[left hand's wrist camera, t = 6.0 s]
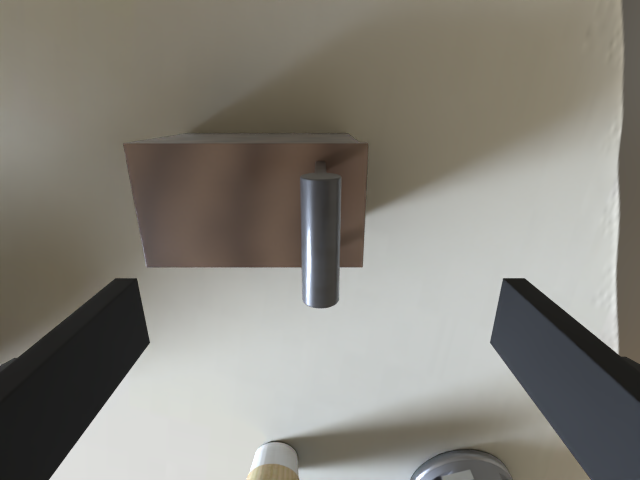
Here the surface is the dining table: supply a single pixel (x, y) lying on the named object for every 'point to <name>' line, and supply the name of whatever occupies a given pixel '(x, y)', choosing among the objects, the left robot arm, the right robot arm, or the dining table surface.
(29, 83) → the dining table surface
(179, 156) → the panel with cylinder handle
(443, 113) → the dining table surface
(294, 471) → the coffee cup
